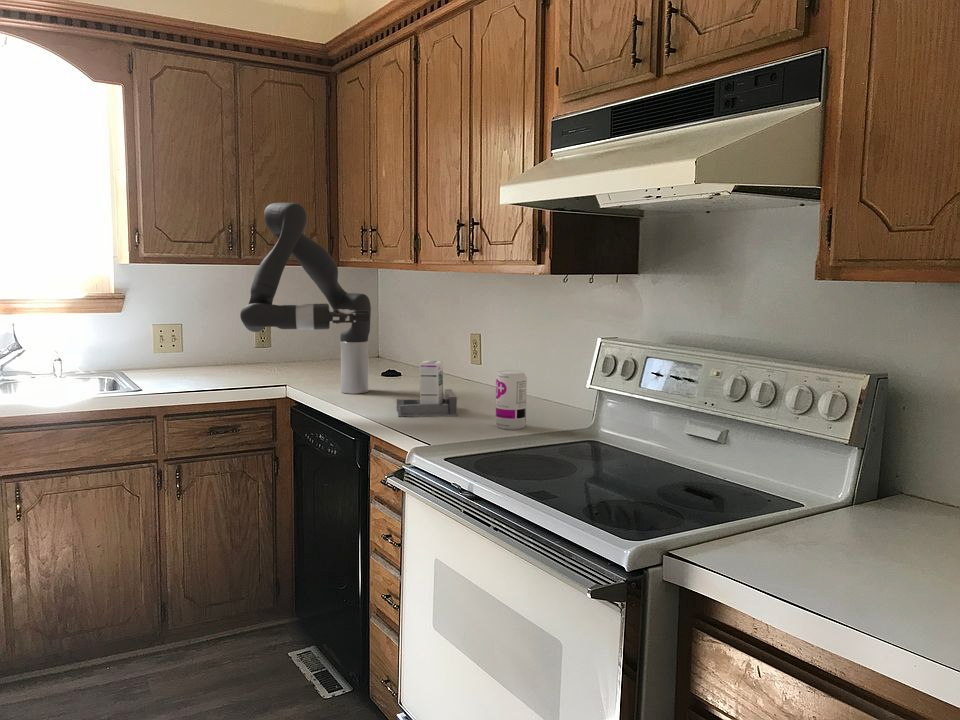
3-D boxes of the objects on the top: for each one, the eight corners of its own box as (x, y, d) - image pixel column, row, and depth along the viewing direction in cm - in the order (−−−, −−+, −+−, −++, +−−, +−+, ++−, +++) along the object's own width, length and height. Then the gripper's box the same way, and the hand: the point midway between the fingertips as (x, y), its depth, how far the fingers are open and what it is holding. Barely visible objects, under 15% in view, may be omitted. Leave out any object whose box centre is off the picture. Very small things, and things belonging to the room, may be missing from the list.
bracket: (396, 407, 246) (396, 390, 245) (451, 406, 248) (452, 389, 247) (398, 416, 232) (398, 398, 231) (457, 415, 234) (457, 396, 234)
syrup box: (438, 412, 237) (438, 363, 235) (419, 411, 238) (419, 362, 236) (443, 408, 242) (443, 360, 240) (424, 408, 243) (424, 360, 241)
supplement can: (501, 430, 215) (501, 374, 213) (492, 424, 222) (492, 370, 220) (530, 429, 217) (531, 373, 215) (520, 423, 225) (520, 369, 223)
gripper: (311, 305, 228) (369, 304, 230) (313, 301, 242) (368, 301, 244) (311, 332, 229) (369, 331, 231) (314, 326, 243) (368, 325, 245)
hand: (368, 315), depth 238 cm, fingers open, 8 cm apart
